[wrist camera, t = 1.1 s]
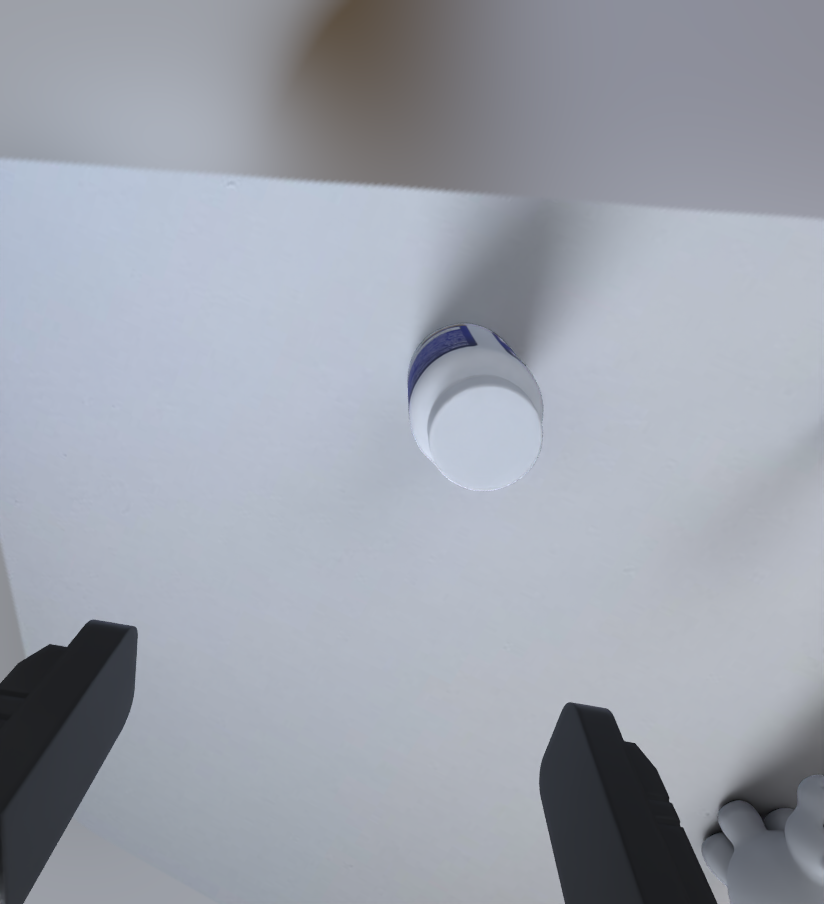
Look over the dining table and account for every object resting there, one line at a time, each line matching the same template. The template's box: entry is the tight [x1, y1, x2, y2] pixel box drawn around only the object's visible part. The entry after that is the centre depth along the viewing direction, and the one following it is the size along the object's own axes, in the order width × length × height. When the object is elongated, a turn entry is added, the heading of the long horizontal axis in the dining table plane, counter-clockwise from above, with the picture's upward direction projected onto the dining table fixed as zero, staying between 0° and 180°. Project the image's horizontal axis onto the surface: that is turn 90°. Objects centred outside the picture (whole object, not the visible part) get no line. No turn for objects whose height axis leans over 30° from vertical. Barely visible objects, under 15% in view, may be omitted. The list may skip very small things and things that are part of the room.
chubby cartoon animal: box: [702, 774, 824, 904], centre depth 35 cm, size 7×12×8 cm, turn 168°
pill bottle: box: [408, 323, 543, 491], centre depth 24 cm, size 5×5×9 cm
